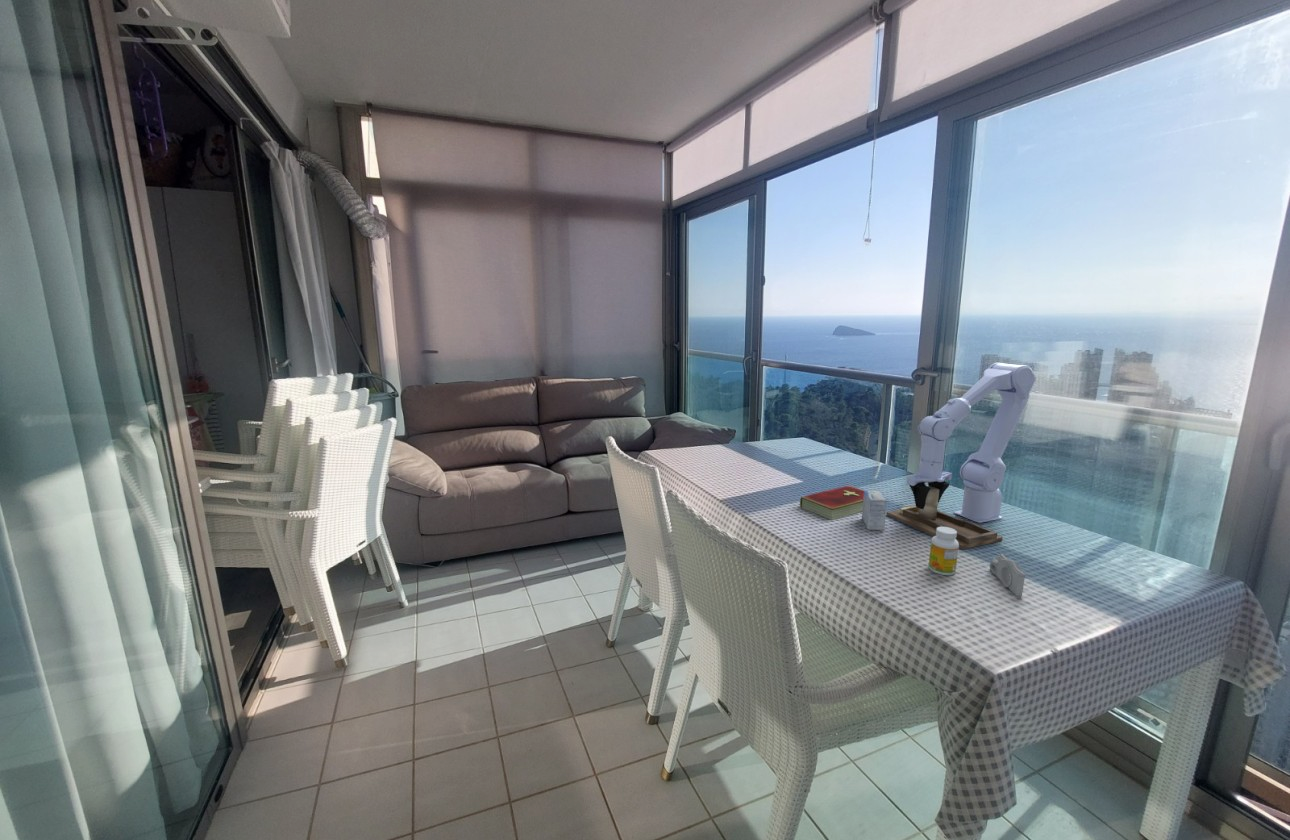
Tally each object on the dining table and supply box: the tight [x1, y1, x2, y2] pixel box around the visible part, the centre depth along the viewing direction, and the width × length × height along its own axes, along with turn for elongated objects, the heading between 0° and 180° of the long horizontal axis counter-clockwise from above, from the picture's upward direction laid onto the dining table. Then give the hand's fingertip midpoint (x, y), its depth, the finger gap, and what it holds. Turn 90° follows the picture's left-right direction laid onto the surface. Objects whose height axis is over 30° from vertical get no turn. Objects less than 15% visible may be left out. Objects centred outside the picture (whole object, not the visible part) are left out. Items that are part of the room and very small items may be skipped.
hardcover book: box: [799, 485, 865, 521], centre depth 156 cm, size 12×21×4 cm, turn 120°
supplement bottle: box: [928, 527, 960, 576], centre depth 117 cm, size 5×5×10 cm
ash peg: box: [918, 486, 939, 519], centre depth 144 cm, size 4×4×8 cm
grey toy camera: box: [989, 553, 1029, 597], centre depth 111 cm, size 12×2×6 cm, turn 170°
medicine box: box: [861, 490, 888, 531], centre depth 142 cm, size 8×4×9 cm, turn 168°
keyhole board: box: [886, 505, 1003, 550], centre depth 141 cm, size 14×24×2 cm, turn 20°
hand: (926, 506), depth 145 cm, fingers closed on ash peg, 4 cm apart
